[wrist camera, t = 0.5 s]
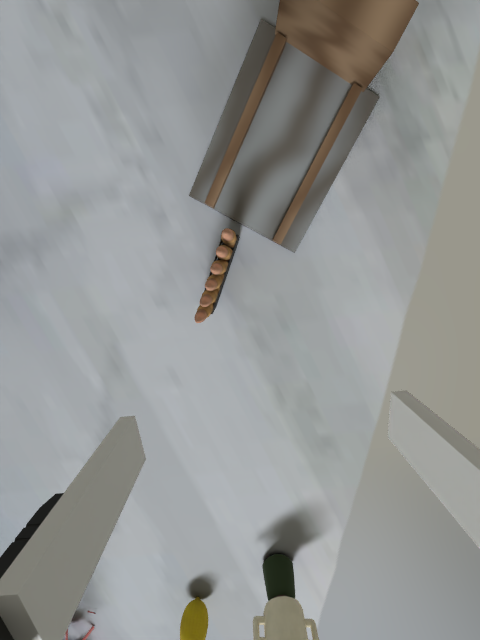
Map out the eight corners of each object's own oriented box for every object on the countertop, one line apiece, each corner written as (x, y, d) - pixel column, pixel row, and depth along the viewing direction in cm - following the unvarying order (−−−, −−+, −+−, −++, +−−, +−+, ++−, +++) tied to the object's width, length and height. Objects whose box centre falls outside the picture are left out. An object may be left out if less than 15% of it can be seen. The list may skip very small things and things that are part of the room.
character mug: (249, 571, 50) (252, 677, 37) (252, 547, 48) (256, 650, 35) (300, 574, 50) (320, 681, 37) (305, 550, 48) (328, 654, 35)
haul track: (189, 196, 31) (178, 182, 25) (276, -15, 26) (286, -95, 20) (294, 252, 33) (305, 251, 27) (395, 66, 27) (436, 15, 22)
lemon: (191, 585, 51) (182, 644, 43) (214, 593, 52) (209, 652, 44) (181, 600, 52) (171, 660, 44) (204, 608, 53) (197, 668, 45)
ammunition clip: (227, 232, 32) (219, 218, 21) (239, 237, 32) (239, 225, 21) (203, 303, 35) (185, 327, 23) (215, 308, 35) (203, 333, 23)
